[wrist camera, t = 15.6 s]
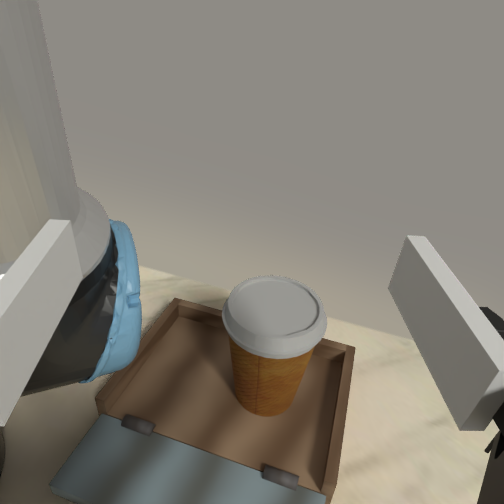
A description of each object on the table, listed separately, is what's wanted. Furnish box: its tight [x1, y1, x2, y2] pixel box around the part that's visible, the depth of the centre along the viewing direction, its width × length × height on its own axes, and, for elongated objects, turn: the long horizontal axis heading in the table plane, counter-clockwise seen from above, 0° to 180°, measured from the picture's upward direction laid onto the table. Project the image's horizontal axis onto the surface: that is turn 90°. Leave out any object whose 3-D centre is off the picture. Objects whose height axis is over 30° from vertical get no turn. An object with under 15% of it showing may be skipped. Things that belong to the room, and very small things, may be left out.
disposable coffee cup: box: [222, 275, 327, 417], centre depth 38 cm, size 10×10×12 cm
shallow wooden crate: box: [49, 298, 355, 504], centre depth 39 cm, size 23×23×4 cm
